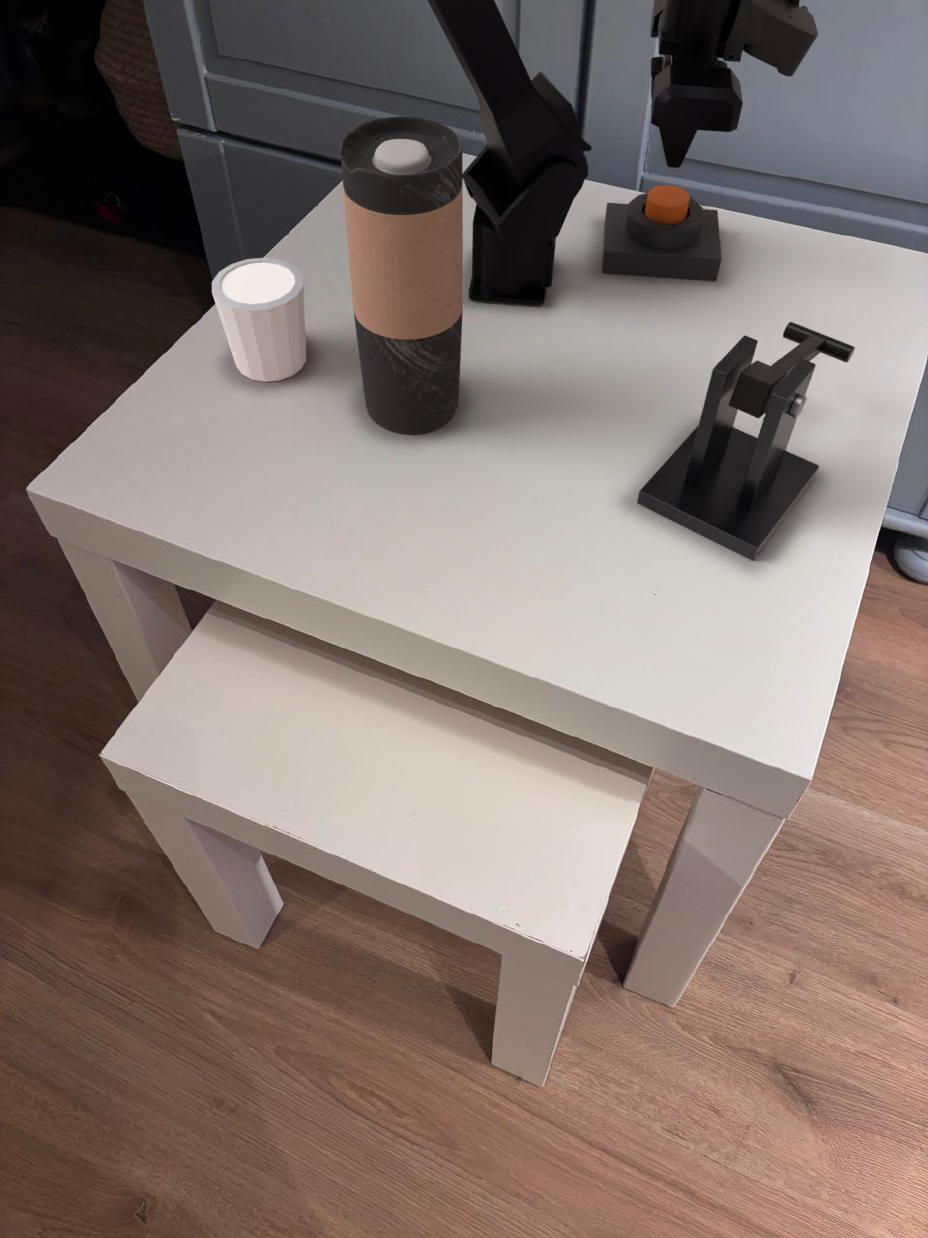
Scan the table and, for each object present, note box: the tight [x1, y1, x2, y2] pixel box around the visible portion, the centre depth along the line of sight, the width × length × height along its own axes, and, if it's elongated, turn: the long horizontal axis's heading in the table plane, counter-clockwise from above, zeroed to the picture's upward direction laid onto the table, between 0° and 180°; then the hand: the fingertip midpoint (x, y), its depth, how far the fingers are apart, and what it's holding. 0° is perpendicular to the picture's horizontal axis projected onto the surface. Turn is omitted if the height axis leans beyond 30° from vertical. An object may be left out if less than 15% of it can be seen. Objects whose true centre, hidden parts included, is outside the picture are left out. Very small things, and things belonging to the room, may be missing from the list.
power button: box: [645, 185, 691, 224], centre depth 85 cm, size 4×4×2 cm
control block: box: [601, 192, 723, 282], centre depth 87 cm, size 10×8×4 cm
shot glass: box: [211, 257, 307, 383], centre depth 76 cm, size 7×7×7 cm
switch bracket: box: [636, 334, 820, 561], centre depth 66 cm, size 10×9×11 cm
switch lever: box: [729, 321, 856, 419], centre depth 67 cm, size 14×5×2 cm, turn 144°
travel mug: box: [339, 115, 464, 435], centre depth 67 cm, size 8×8×20 cm
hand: (673, 165), depth 82 cm, fingers closed
